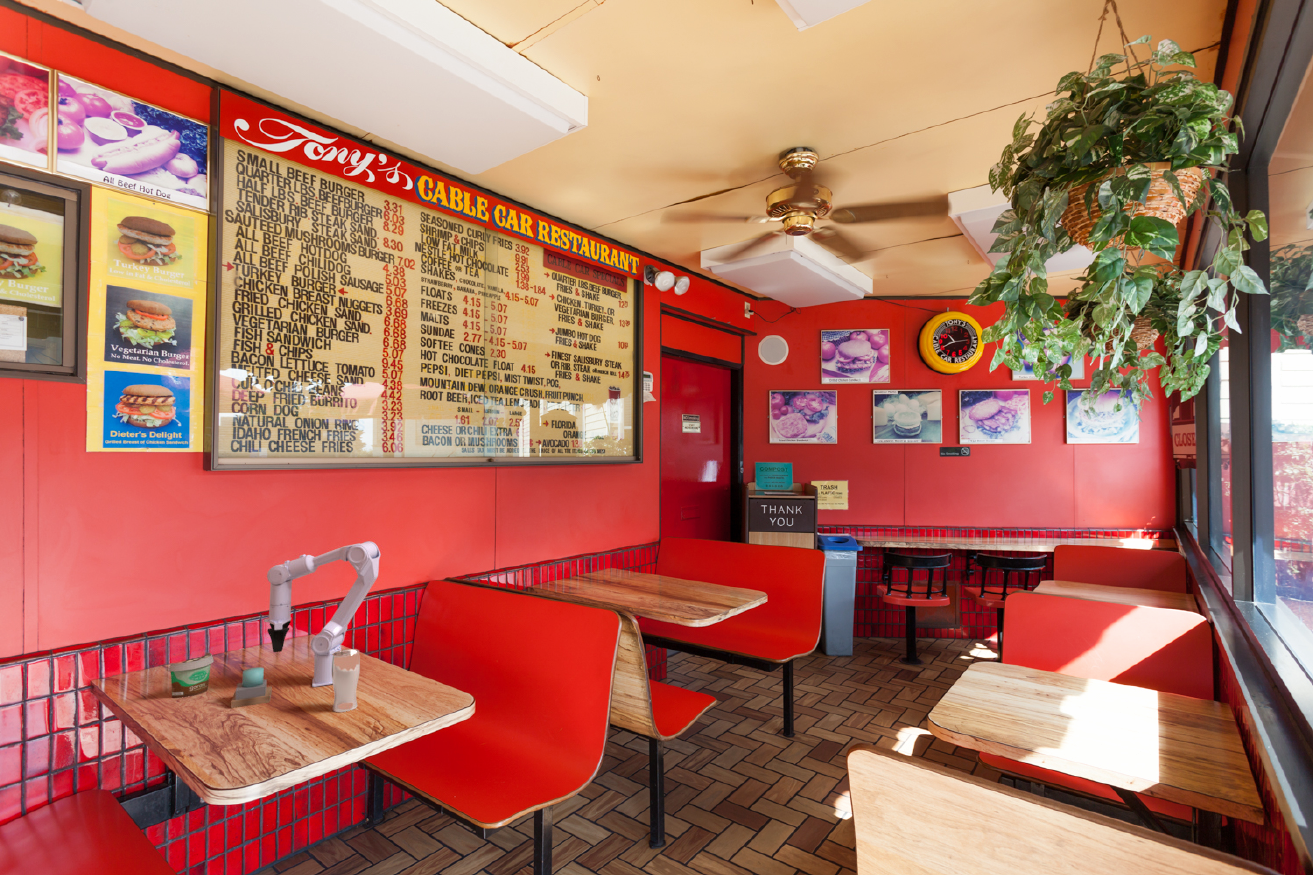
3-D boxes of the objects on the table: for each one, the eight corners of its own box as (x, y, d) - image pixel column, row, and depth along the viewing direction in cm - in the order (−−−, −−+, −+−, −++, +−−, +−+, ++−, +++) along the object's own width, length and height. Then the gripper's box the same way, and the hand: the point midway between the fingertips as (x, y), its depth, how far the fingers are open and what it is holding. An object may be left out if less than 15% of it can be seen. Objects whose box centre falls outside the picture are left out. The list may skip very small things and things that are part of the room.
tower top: (266, 687, 183) (266, 679, 183) (265, 695, 177) (265, 686, 177) (237, 692, 180) (237, 683, 180) (235, 700, 174) (235, 690, 174)
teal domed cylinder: (264, 680, 182) (264, 666, 182) (262, 685, 178) (262, 671, 178) (243, 683, 180) (244, 668, 180) (241, 688, 176) (241, 673, 176)
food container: (185, 701, 178) (186, 665, 179) (167, 699, 179) (168, 663, 180) (223, 686, 190) (224, 652, 191) (206, 685, 191) (207, 651, 192)
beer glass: (364, 705, 174) (365, 649, 175) (344, 714, 168) (345, 657, 168) (345, 702, 176) (346, 647, 177) (324, 711, 170) (325, 654, 171)
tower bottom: (271, 694, 185) (271, 686, 185) (269, 704, 177) (269, 695, 177) (234, 700, 180) (235, 691, 180) (231, 710, 172) (231, 701, 172)
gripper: (266, 600, 199) (264, 643, 198) (263, 609, 186) (261, 656, 185) (292, 598, 202) (290, 641, 201) (290, 607, 189) (288, 653, 188)
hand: (278, 648), depth 193 cm, fingers open, 7 cm apart
